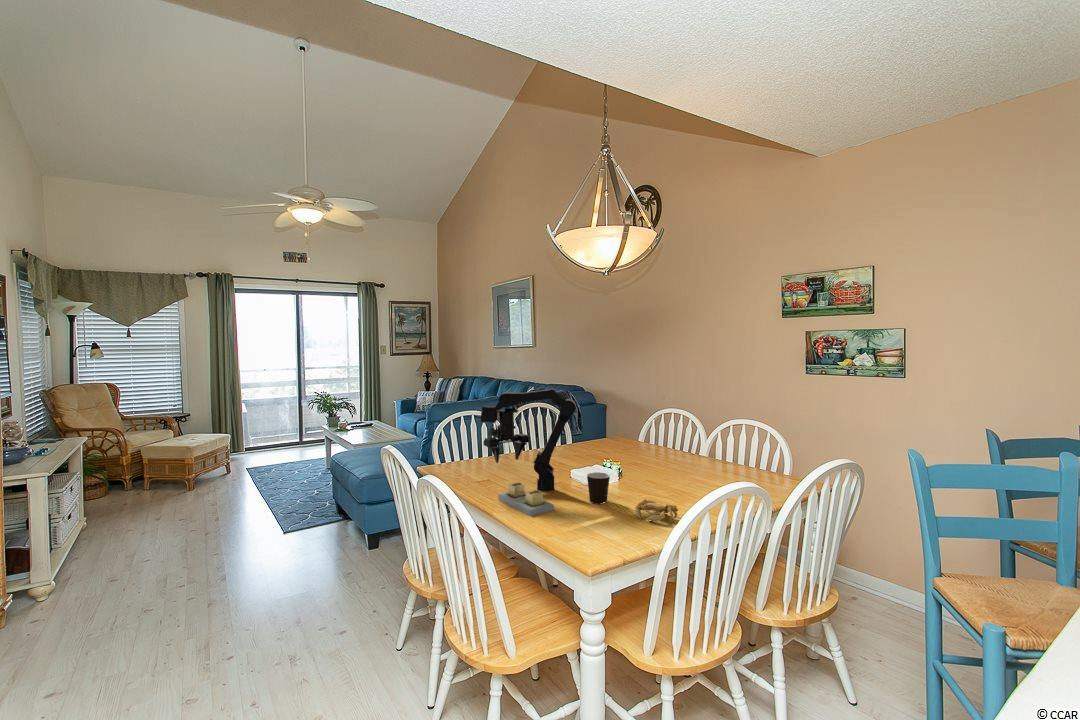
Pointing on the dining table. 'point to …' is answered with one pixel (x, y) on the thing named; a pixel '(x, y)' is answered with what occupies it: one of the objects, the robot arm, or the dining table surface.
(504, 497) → the grey slotted plate
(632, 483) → the dining table surface
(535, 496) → the block
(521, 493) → the block
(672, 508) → the crab model
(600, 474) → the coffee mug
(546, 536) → the dining table surface
